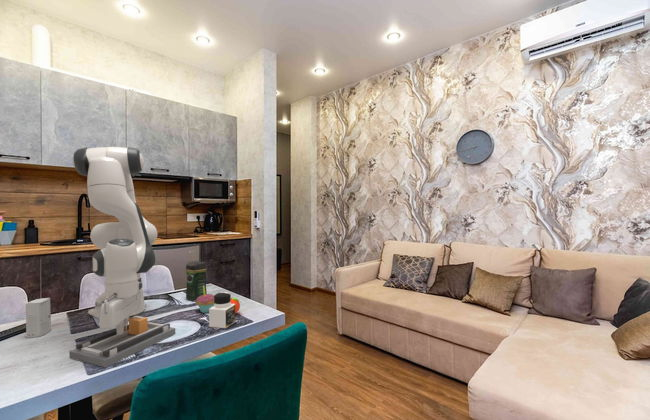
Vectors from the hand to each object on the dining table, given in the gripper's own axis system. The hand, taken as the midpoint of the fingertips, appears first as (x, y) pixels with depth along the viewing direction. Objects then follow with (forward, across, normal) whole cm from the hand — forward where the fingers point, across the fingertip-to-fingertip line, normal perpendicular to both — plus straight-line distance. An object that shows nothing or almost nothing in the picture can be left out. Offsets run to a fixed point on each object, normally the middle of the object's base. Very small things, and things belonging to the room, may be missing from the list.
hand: (121, 332), depth 96 cm
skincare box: (+5, +18, +34) cm, 39 cm away
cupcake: (+5, +31, -20) cm, 37 cm away
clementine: (+5, +24, -32) cm, 40 cm away
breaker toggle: (+2, +5, -3) cm, 6 cm away
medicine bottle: (+5, +13, -29) cm, 32 cm away
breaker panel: (+5, +2, -1) cm, 5 cm away
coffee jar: (+5, +50, -12) cm, 52 cm away
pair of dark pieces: (+2, +2, -1) cm, 3 cm away
